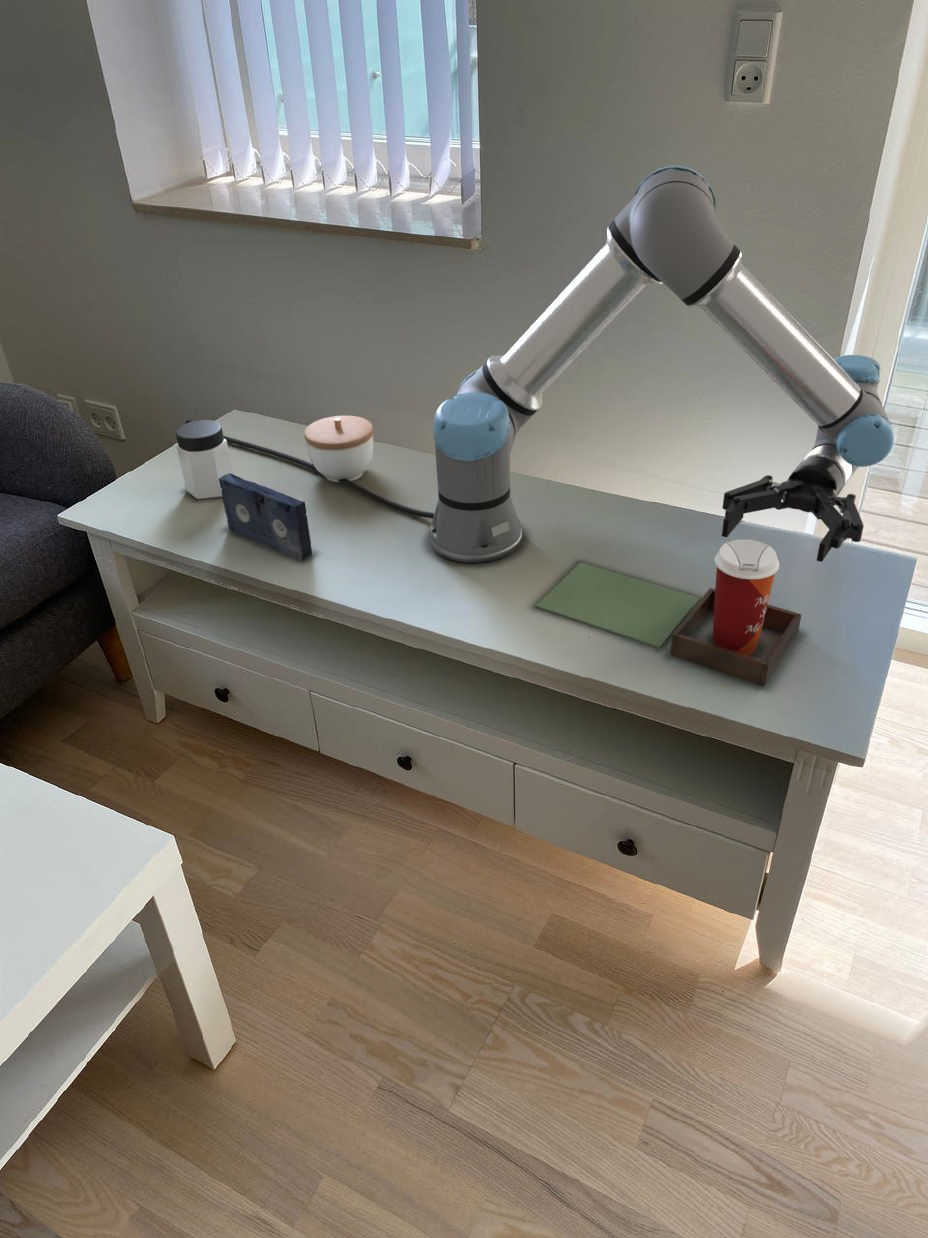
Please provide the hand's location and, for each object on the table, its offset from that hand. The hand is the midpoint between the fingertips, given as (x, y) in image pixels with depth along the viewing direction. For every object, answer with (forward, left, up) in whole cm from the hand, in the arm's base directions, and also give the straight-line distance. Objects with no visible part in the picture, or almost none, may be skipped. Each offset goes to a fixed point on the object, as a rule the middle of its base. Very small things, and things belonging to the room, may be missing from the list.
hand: (771, 540), depth 136 cm
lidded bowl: (-82, +4, -12) cm, 83 cm away
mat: (-19, -9, -12) cm, 24 cm away
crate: (0, -10, -12) cm, 15 cm away
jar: (-100, -13, -12) cm, 102 cm away
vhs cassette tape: (-77, -22, -12) cm, 81 cm away
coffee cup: (0, -10, -12) cm, 16 cm away
